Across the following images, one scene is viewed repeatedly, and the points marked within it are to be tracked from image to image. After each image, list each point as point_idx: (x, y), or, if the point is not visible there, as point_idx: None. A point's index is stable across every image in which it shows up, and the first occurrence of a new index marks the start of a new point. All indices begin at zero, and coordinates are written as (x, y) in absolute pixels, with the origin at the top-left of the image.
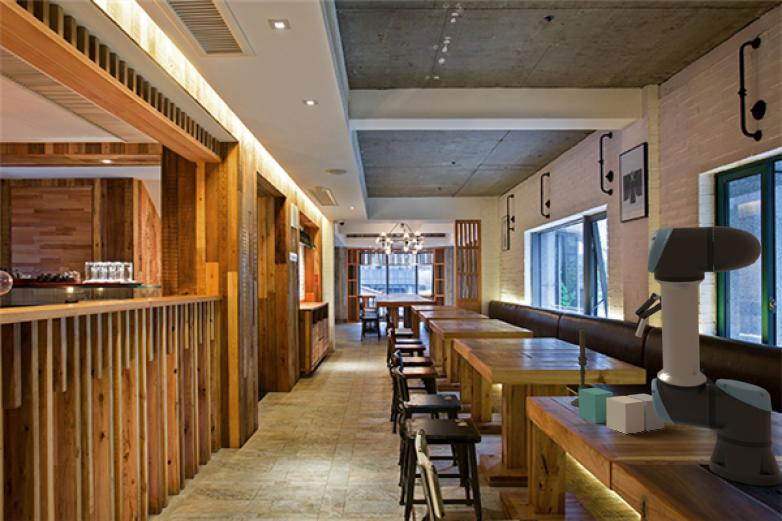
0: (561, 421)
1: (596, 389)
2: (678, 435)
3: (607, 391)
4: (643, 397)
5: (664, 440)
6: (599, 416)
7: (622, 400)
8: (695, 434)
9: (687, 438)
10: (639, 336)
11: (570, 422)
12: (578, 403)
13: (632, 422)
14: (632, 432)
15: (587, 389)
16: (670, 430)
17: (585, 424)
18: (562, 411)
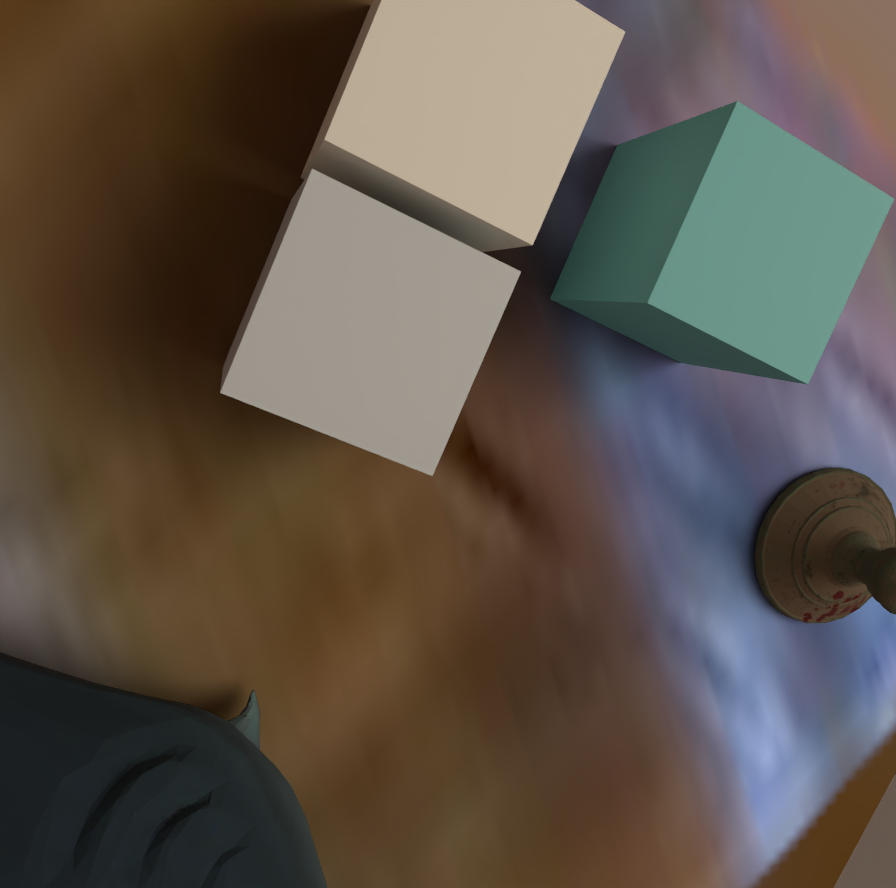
0: (796, 26)
1: (787, 319)
2: (87, 268)
3: (696, 310)
4: (383, 307)
5: (115, 57)
6: (622, 174)
7: (484, 27)
8: (5, 388)
9: (10, 236)
10: (863, 855)
11: (746, 45)
12: (845, 487)
13: (356, 46)
14: (346, 65)
15: (842, 258)
16: (177, 358)
17: (658, 69)
18: (867, 281)
